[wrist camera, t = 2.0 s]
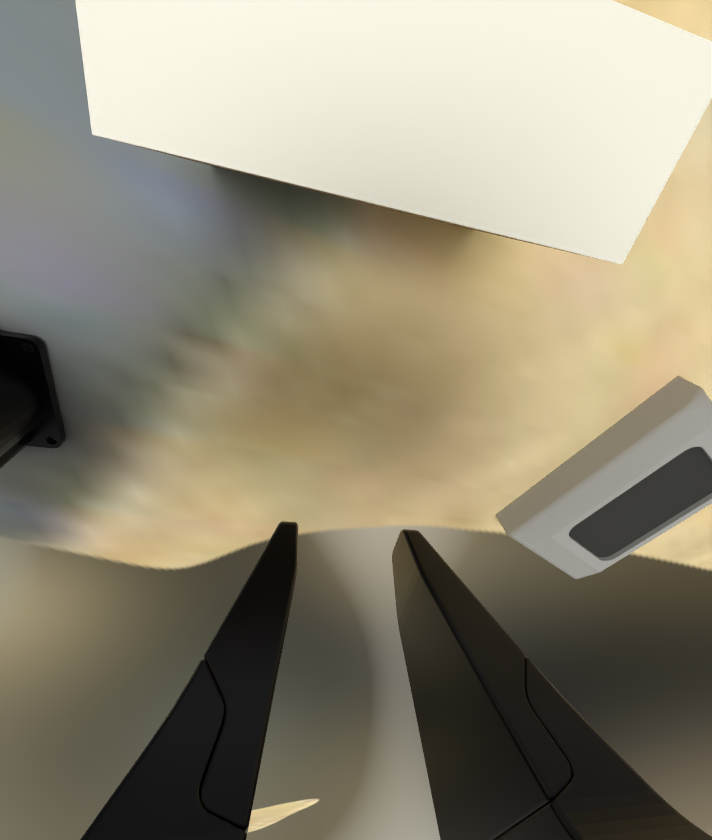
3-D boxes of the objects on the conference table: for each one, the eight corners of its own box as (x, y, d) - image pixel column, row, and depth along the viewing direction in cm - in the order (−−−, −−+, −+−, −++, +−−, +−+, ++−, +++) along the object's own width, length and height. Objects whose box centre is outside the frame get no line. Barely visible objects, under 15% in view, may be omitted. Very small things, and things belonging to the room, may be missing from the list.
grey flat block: (515, 549, 26) (727, 400, 21) (493, 510, 29) (672, 373, 24) (583, 591, 30) (775, 476, 25) (557, 553, 33) (723, 444, 28)
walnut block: (473, 229, 18) (622, 264, 9) (211, 165, 15) (91, 134, 7) (507, 126, 16) (736, 51, 7) (212, 35, 13) (45, -236, 5)
